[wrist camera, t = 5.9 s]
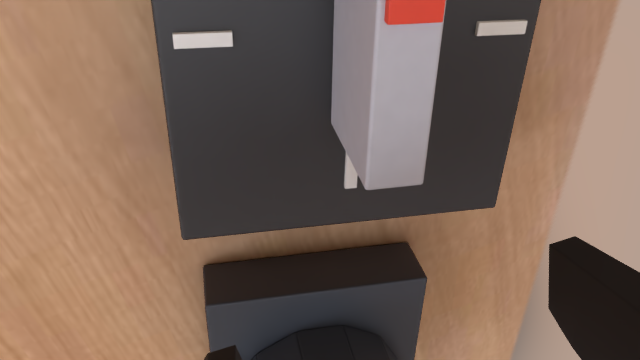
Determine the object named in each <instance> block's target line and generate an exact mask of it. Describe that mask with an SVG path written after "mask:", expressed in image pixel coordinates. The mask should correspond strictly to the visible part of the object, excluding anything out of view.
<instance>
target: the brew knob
mask: <svg viewBox="0 0 640 360" xmlns="http://www.w3.org/2000/svg"><path fill="white" fill-rule="evenodd" d="M445 7H446V0H334V30H333V69H332V108H331V124H332V126H333V128H334V130H335V131H336V133H337V135H338V137H339V139H340V141H341V143H342V145H343V147H344V149H345V151H346V153H347V155H348V157H349V159H350V161H351V162H352V164H353V166H354V168H355V170H356V172H357V174H358V176H359V178H360V180H361V182H362V184H363V186H364V188H365V189H366V190H375V189H384V188H394V187H404V186H413V185H421V184H422V183H423V180H424V172H425V164H426V157H427V149H428V141H429V133H430V125H431V117H432V109H433V102H434V94H435V86H436V78H437V70H438V62H439V54H440V47H441V39H442V31H443V23H444V15H445Z"/></svg>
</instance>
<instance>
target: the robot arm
mask: <svg viewBox="0 0 640 360" xmlns="http://www.w3.org/2000/svg"><path fill="white" fill-rule="evenodd" d="M549 310H550V311H551V313H552V315H553V316H554V318H555V320H556V321H557V323H558V325H559V327H560V328H561V330H562V332H563V333H564V335H565V336H566V338H567V339H568V341H569V343H570V344H571V346H572V347H573V349H574V350H575V351H576V353H577V354H578V355H579V357H580V358H581V359H582V360H640V272H638V271H636V270H634V269H632V268H631V267H629V266H627V265H625V264H623V263H622V262H620V261H618V260H616V259H614V258H613V257H611V256H609V255H607V254H606V253H604V252H602V251H600V250H599V249H597V248H595V247H593V246H591V245H590V244H588V243H586V242H584V241H583V240H581V239H579V238H577V237H571V238H568V239H565V240H562V241H559V242H556V243H553V244H550V245H549ZM204 360H242V358H241V356H240V354H239V352H238V350H237V347H236V345H233V346H229V347H226V348H223V349H220V350H217V351H214V352H211V353H208V354H207V355H206V357H205V358H204Z"/></svg>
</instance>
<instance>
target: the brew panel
mask: <svg viewBox="0 0 640 360" xmlns="http://www.w3.org/2000/svg"><path fill="white" fill-rule="evenodd" d="M540 3H541V0H446V7H445V15H444V23H443V31H442V39H441V47H440V54H439V62H438V70H437V78H436V86H435V94H434V102H433V109H432V117H431V125H430V133H429V141H428V149H427V157H426V164H425V172H424V180H423V183H422V184H421V185H413V186H404V187H394V188H384V189H375V190H366V189H365V188H364V186H363V184H362V182H361V180H360V178H359V176H358V174H357V172H356V170H355V168H354V166H353V164H352V162H351V161H350V159H349V157H348V155H347V153H346V151H345V149H344V147H343V145H342V143H341V141H340V139H339V137H338V135H337V133H336V131H335V130H334V128H333V126H332V124H331V108H332V69H333V30H334V0H151V4H152V12H153V20H154V27H155V35H156V43H157V51H158V58H159V66H160V74H161V82H162V89H163V97H164V105H165V113H166V120H167V128H168V136H169V144H170V151H171V159H172V167H173V175H174V182H175V190H176V198H177V206H178V213H179V221H180V229H181V237H182V238H183V240H188V239H198V238H207V237H217V236H226V235H236V234H245V233H255V232H265V231H274V230H284V229H293V228H303V227H312V226H322V225H331V224H341V223H350V222H360V221H369V220H379V219H388V218H398V217H407V216H417V215H427V214H436V213H446V212H455V211H465V210H474V209H484V208H493V207H495V204H496V200H497V195H498V191H499V186H500V182H501V177H502V173H503V168H504V164H505V159H506V155H507V150H508V146H509V142H510V137H511V133H512V128H513V124H514V119H515V115H516V110H517V106H518V101H519V97H520V92H521V88H522V83H523V79H524V74H525V70H526V66H527V61H528V57H529V52H530V48H531V43H532V39H533V34H534V30H535V25H536V21H537V16H538V12H539V7H540Z"/></svg>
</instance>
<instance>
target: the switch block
mask: <svg viewBox="0 0 640 360" xmlns="http://www.w3.org/2000/svg"><path fill="white" fill-rule="evenodd" d="M203 277H204V296H205V310H206V320H207V329H208V338H209V347H210V353H211V352H214V351H217V350H220V349H223V348H226V347H229V346H233V345H236V347H237V350H238V352H239V354H240V356H241V358H242V360H414V357H415V351H416V345H417V338H418V332H419V326H420V320H421V314H422V307H423V301H424V295H425V289H426V283H427V277H426V275H425V273H424V271H423V269H422V268H421V266H420V264H419V262H418V260H417V259H416V257H415V255H414V253H413V251H412V250H411V248H410V246H409V244H408V243H406V242H405V243H397V244H388V245H379V246H370V247H361V248H353V249H344V250H335V251H326V252H318V253H309V254H300V255H291V256H282V257H274V258H265V259H256V260H247V261H239V262H230V263H221V264H212V265H205V266H204V267H203Z"/></svg>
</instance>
